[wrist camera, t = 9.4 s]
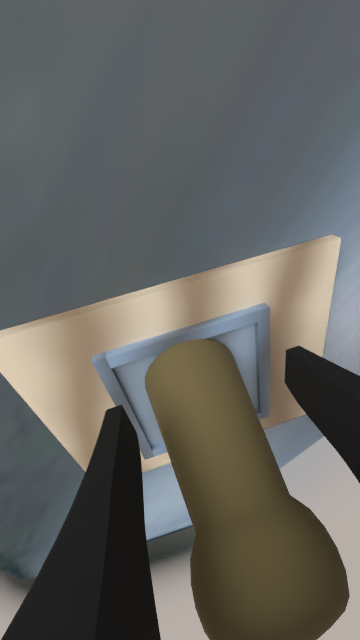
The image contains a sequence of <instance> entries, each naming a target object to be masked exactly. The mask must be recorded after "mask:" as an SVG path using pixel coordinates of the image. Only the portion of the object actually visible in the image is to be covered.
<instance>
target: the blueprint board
mask: <svg viewBox="0 0 360 640" xmlns="http://www.w3.org/2000/svg"><path fill="white" fill-rule="evenodd" d="M340 243H341V238H340V237H336V236H333V235H329V236H325V237H322V238H318V239H315V240H311V241H308V242H304V243H301V244H298V245H294V246H291V247H287V248H284V249H280V250H277V251H273V252H270V253H266V254H263V255H260V256H256V257H253V258H249V259H246V260H242V261H239V262H235V263H232V264H228V265H225V266H222V267H218V268H215V269H211V270H208V271H204V272H201V273H197V274H194V275H191V276H187V277H184V278H180V279H177V280H173V281H170V282H166V283H163V284H159V285H156V286H153V287H149V288H146V289H142V290H139V291H135V292H132V293H128V294H125V295H121V296H118V297H115V298H111V299H108V300H104V301H101V302H97V303H94V304H90V305H87V306H83V307H80V308H77V309H73V310H70V311H66V312H63V313H59V314H56V315H52V316H49V317H45V318H42V319H39V320H35V321H32V322H28V323H25V324H21V325H18V326H14V327H11V328H7V329H4V330H1V331H0V372H1V373H2V375H3V376H4V377H5V378H6V379H7V380H8V382H9V383H10V384H11V385H12V386H13V387H14V389H15V390H16V391H17V392H18V393H19V394H20V396H21V397H22V398H23V399H24V400H25V402H26V403H27V404H28V405H29V406H30V407H31V409H32V410H33V411H34V412H35V413H36V414H37V416H38V417H39V418H40V419H41V420H42V421H43V423H44V424H45V425H46V426H47V427H48V428H49V430H50V431H51V432H52V433H53V434H54V435H55V437H56V438H57V439H58V440H59V441H60V443H61V444H62V445H63V446H64V447H65V448H66V450H67V451H68V452H69V453H70V454H71V455H72V457H73V458H74V459H75V460H76V461H77V462H78V464H79V465H80V466H81V467H82V468H83V469H84V471H85V472H86V470H87V467H88V464H89V461H90V459H91V456H92V453H93V450H94V447H95V444H96V441H97V438H98V435H99V432H100V429H101V426H102V422H103V419H104V415H105V412H106V410H107V409H110V408H113V407H116V406H119V405H122V406H123V408H124V410H125V411H126V413H127V415H128V417H129V419H130V421H131V423H132V425H133V426H134V428H135V430H136V432H137V436H138V442H139V448H140V454H141V464H142V473H143V472H146V471H148V470H151V469H154V468H157V467H160V466H162V465H165V464H168V463H171V461H170V458H169V455H168V452H167V449H166V446H165V443H164V440H163V438H162V435H161V432H160V429H159V426H158V423H157V420H156V417H155V415H154V412H153V409H152V406H151V403H150V400H149V397H148V394H147V392H146V389H145V375H146V373H147V370H148V368H149V366H150V365H151V363H152V362H153V361H154V360H155V359H156V358H157V356H158V355H160V354H161V353H163V352H164V351H166V350H167V349H168V348H170V347H172V346H174V345H177V344H179V343H182V342H185V341H189V340H197V339H207V340H214V341H217V342H219V343H221V344H223V345H225V346H227V348H228V349H229V350H230V352H231V353H232V354H233V357H234V359H235V361H236V364H237V366H238V369H239V371H240V374H241V376H242V379H243V381H244V384H245V386H246V388H247V391H248V393H249V396H250V398H251V401H252V403H253V406H254V408H255V411H256V413H257V415H258V418H259V420H260V423H261V425H262V428H263V429H266V428H269V427H272V426H275V425H277V424H280V423H283V422H286V421H289V420H291V419H294V418H297V417H300V416H303V415H305V414H306V413H305V412H304V410H303V409H302V408H301V407H300V405H299V404H298V403H297V401H296V400H295V398H294V397H293V395H292V394H291V392H290V390H289V389H288V387H287V386H286V384H285V358H286V350H287V349H290V348H293V347H296V346H301V347H303V348H305V349H307V350H309V351H311V352H313V353H315V354H317V355H319V356H320V357H322V355H323V349H324V343H325V337H326V330H327V324H328V318H329V312H330V306H331V299H332V293H333V287H334V281H335V274H336V268H337V262H338V256H339V250H340Z"/></svg>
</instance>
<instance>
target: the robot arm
mask: <svg viewBox="0 0 360 640" xmlns="http://www.w3.org/2000/svg"><path fill="white" fill-rule="evenodd" d="M285 384H286V386H287V387H288V389H289V390H290V392H291V394H292V395H293V397H294V398H295V400H296V401H297V403H298V404H299V405H300V407H301V408H302V409H303V410H304V412H305V413H306V414H307V415H308V416H309V418H310V419H311V420H312V421H313V423H314V424H315V425H316V426H317V427H318V429H319V430H320V431H321V432H322V433H323V435H324V436H325V437H326V438H327V440H328V441H329V442H330V443H331V444H332V446H333V447H334V448H335V449H336V450H337V452H338V453H339V454H340V456H341V457H342V458H343V460H344V461H345V462H346V464H347V465H348V467H349V468H350V470H351V471H352V472H353V474H354V475H355V476H356V478H357V480H358V481H359V483H360V376H358V375H356V374H354V373H352V372H350V371H348V370H346V369H344V368H342V367H340V366H338V365H336V364H334V363H332V362H330V361H328V360H326V359H324V358H322V357H320V356H319V355H317V354H315V353H313V352H311V351H309V350H307V349H305V348H303V347H301V346H296V347H293V348H290V349H287V350H286V358H285ZM146 543H147V542H146V534H145V522H144V502H143V482H142V464H141V454H140V448H139V442H138V436H137V432H136V430H135V428H134V426H133V425H132V423H131V421H130V419H129V417H128V415H127V413H126V411H125V410H124V408H123V406H122V405H119V406H116V407H113V408H110V409H107V410H106V412H105V415H104V419H103V422H102V426H101V429H100V432H99V435H98V438H97V441H96V444H95V447H94V450H93V453H92V456H91V459H90V461H89V464H88V467H87V470H86V472H85V475H84V477H83V480H82V482H81V485H80V487H79V490H78V492H77V495H76V497H75V500H74V502H73V504H72V506H71V509H70V511H69V513H68V515H67V518H66V520H65V522H64V524H63V526H62V528H61V530H60V532H59V535H58V537H57V539H56V541H55V543H54V545H53V547H52V549H51V551H50V552H49V554H48V556H47V558H46V560H45V562H44V564H43V566H42V568H41V570H40V572H39V574H38V576H37V577H36V579H35V581H34V583H33V585H32V587H31V589H30V590H29V592H28V594H27V596H26V597H25V599H24V601H23V603H22V604H21V606H20V608H19V610H18V611H17V613H16V615H15V616H14V618H13V620H12V622H11V624H10V625H9V627H8V629H7V631H6V632H5V634H4V636H3V637H2V639H1V640H161V638H160V633H159V626H158V619H157V613H156V607H155V600H154V594H153V586H152V579H151V572H150V565H149V558H148V551H147V544H146Z"/></svg>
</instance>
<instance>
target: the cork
mask: <svg viewBox="0 0 360 640" xmlns="http://www.w3.org/2000/svg"><path fill="white" fill-rule="evenodd" d="M145 389H146V392H147V394H148V397H149V400H150V403H151V406H152V409H153V412H154V415H155V417H156V420H157V423H158V426H159V429H160V432H161V435H162V438H163V440H164V443H165V446H166V449H167V452H168V455H169V458H170V461H171V463H172V466H173V469H174V472H175V475H176V478H177V481H178V484H179V486H180V489H181V492H182V495H183V498H184V501H185V504H186V507H187V509H188V512H189V515H190V518H191V521H192V524H193V527H194V529H195V532H196V536H195V541H194V545H193V549H192V554H191V558H190V563H191V564H190V566H191V586H192V591H193V597H194V602H195V607H196V610H197V613H198V616H199V618H200V621H201V623H202V626H203V629H204V632H205V633H206V634H207V636H208V638H209V639H210V640H317V639H318V638H319V637H320V636H322V635H323V634H324V633H325V632H326V631H327V630H328V629H329V628H331V626H332V625H333V624H334V623H335V622H336V620H337V619H338V618H339V617H340V616H341V615H342V614H343V612H344V611H345V609H346V606H347V603H348V599H349V589H348V582H347V575H346V570H345V567H344V565H343V562H342V560H341V557H340V554H339V552H338V549H337V547H336V545H335V543H334V542H333V540H332V538H331V537H330V535H329V533H328V532H327V530H326V528H325V527H324V525H323V524H322V523H321V522H320V521H319V519H318V518H317V517H316V516H315V515H314V513H313V512H312V511H311V510H310V509H309V508H308V507H306V506H305V505H303V504H302V503H300V502H299V501H298V500H296V499H295V498H293V497H292V496H290V494H289V492H288V489H287V487H286V484H285V482H284V480H283V477H282V475H281V472H280V470H279V467H278V465H277V462H276V460H275V457H274V455H273V452H272V450H271V447H270V445H269V443H268V440H267V438H266V435H265V433H264V430H263V428H262V425H261V423H260V420H259V418H258V415H257V413H256V411H255V408H254V406H253V403H252V401H251V398H250V396H249V393H248V391H247V388H246V386H245V384H244V381H243V379H242V376H241V374H240V371H239V369H238V366H237V364H236V361H235V359H234V357H233V354H232V353H231V352H230V350H229V349H228V348H227V346H225V345H223V344H221V343H219V342H217V341H214V340H207V339H197V340H189V341H185V342H182V343H179V344H177V345H174V346H172V347H170V348H168V349H167V350H166V351H164V352H163V353H161V354H160V355H158V356H157V358H156V359H155V360H154V361H153V362H152V363H151V365H150V366H149V368H148V370H147V373H146V375H145Z"/></svg>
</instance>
